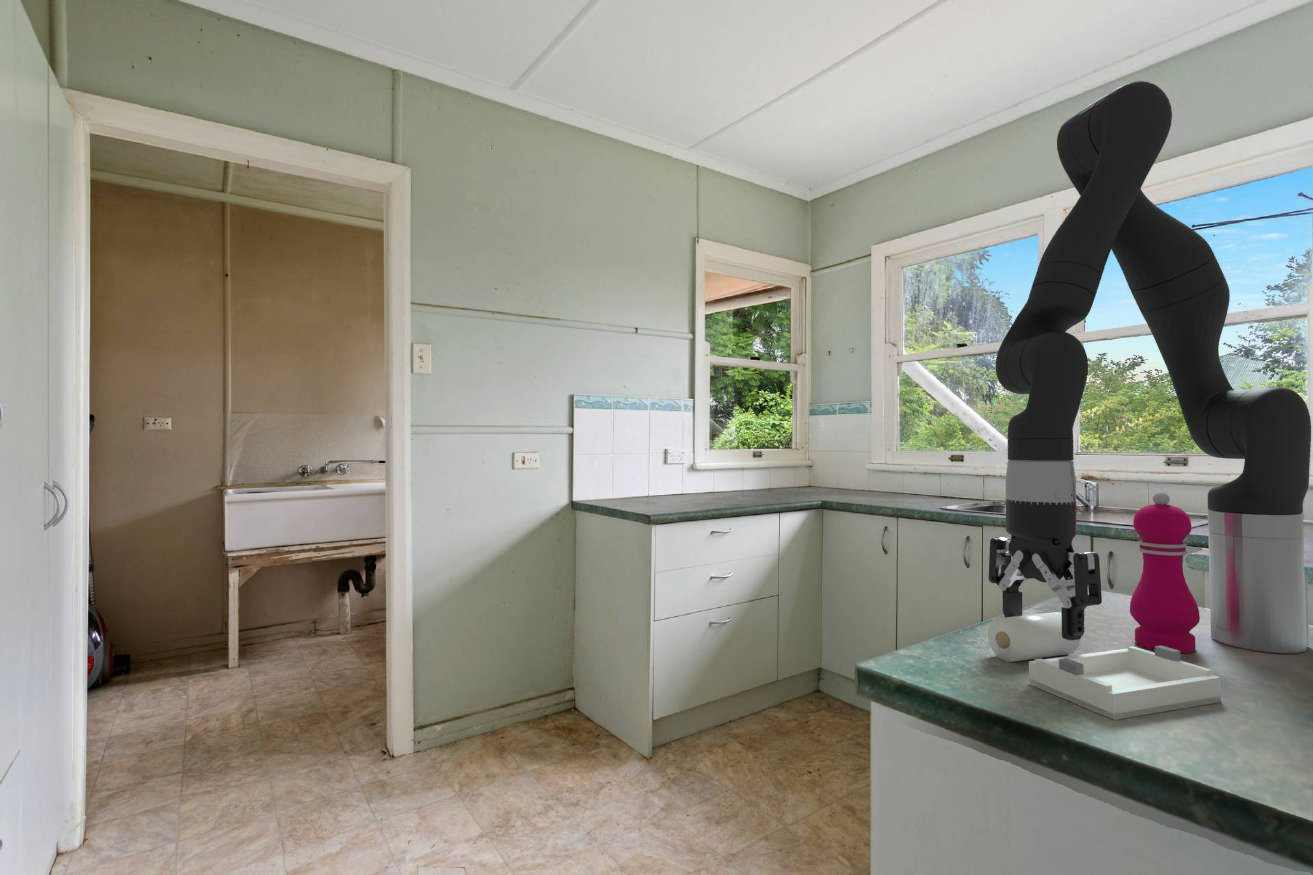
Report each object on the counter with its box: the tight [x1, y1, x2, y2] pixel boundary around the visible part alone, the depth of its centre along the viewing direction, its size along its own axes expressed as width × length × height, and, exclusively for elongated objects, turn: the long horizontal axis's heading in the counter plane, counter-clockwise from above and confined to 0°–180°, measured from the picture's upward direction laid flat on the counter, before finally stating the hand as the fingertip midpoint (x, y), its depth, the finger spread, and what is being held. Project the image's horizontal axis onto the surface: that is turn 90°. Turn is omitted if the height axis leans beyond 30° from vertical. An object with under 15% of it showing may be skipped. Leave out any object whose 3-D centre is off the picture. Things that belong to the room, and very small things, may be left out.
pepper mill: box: [1129, 491, 1201, 654], centre depth 85 cm, size 7×7×20 cm
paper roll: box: [987, 611, 1081, 663], centre depth 82 cm, size 10×5×5 cm
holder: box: [1028, 645, 1222, 721], centre depth 70 cm, size 14×10×4 cm
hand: (1040, 629), depth 81 cm, fingers open, 8 cm apart
